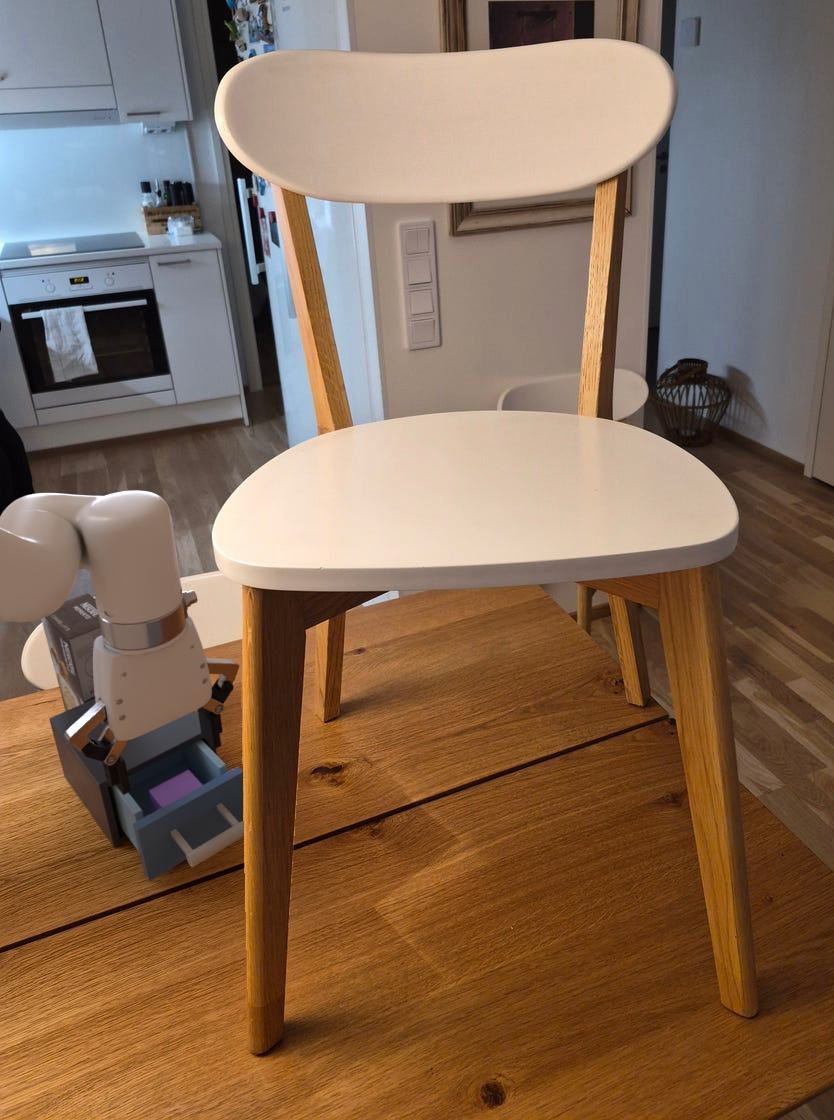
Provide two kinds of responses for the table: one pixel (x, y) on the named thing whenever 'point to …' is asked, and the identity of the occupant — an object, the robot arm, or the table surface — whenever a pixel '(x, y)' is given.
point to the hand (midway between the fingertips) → (167, 762)
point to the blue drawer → (182, 810)
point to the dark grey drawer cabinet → (136, 754)
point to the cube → (173, 789)
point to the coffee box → (73, 648)
